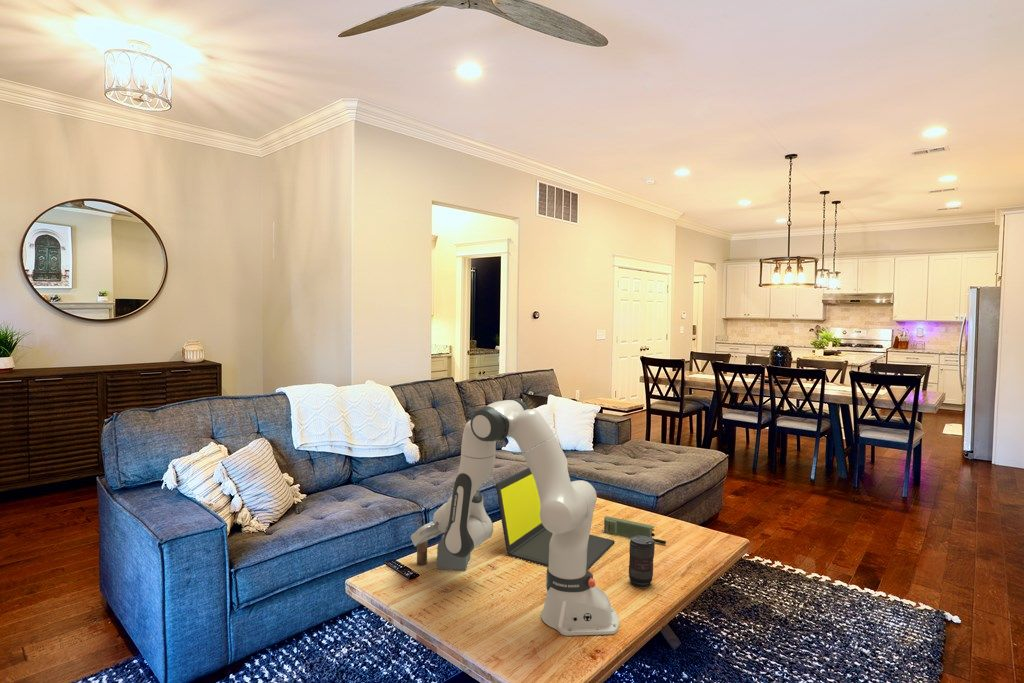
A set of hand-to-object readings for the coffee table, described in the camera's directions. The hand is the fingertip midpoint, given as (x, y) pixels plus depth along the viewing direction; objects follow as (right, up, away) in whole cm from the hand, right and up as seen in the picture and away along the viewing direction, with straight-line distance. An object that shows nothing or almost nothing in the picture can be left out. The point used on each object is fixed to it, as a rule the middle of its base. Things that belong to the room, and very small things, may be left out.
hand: (424, 539), depth 197 cm
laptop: (+47, -10, +18) cm, 51 cm away
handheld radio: (+79, -10, +29) cm, 85 cm away
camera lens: (+73, -12, -8) cm, 75 cm away
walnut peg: (-1, -9, +1) cm, 9 cm away
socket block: (+10, -9, +2) cm, 14 cm away
